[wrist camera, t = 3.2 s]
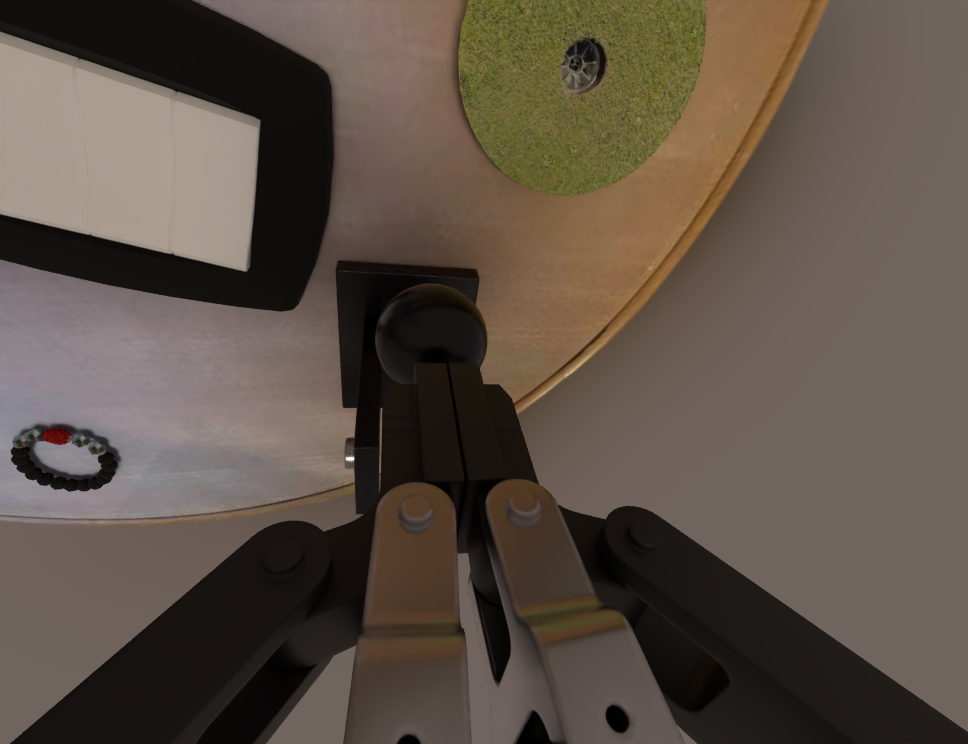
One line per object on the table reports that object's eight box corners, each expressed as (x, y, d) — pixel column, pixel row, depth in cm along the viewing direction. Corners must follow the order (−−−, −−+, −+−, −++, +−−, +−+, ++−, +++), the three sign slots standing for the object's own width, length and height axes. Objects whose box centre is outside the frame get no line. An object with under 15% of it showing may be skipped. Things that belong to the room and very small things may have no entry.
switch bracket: (337, 260, 26) (308, 394, 17) (476, 269, 28) (520, 395, 18) (344, 396, 32) (325, 551, 23) (458, 397, 34) (485, 541, 24)
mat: (444, 175, 24) (448, 186, 23) (466, -135, 18) (474, -149, 16) (640, 193, 27) (655, 204, 25) (725, -75, 20) (752, -83, 18)
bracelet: (115, 430, 30) (108, 441, 30) (124, 486, 33) (118, 498, 33) (6, 419, 29) (-5, 430, 28) (26, 479, 32) (17, 491, 31)
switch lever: (376, 255, 12) (372, 359, 11) (492, 263, 13) (504, 362, 12) (377, 431, 24) (376, 494, 22) (440, 430, 24) (443, 491, 23)
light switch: (-177, 243, 20) (-452, -246, 12) (-121, 215, 22) (-320, -216, 14) (305, 339, 27) (350, 69, 18) (312, 310, 29) (355, 56, 20)
